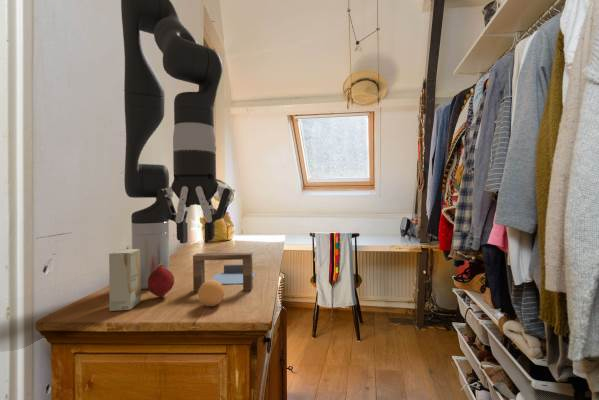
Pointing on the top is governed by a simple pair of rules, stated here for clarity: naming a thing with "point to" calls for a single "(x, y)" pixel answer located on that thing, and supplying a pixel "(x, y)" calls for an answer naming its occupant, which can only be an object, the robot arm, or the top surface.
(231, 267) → the stopper strip
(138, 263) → the skincare box
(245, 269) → the bridge
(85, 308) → the top surface
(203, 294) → the ball
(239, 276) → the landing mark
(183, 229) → the robot arm
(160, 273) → the onion
